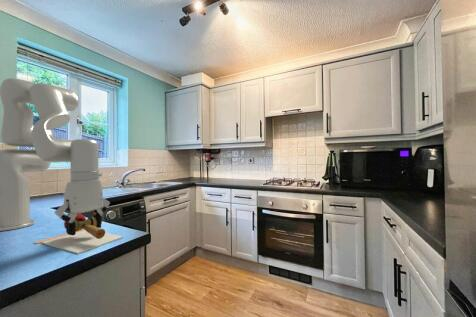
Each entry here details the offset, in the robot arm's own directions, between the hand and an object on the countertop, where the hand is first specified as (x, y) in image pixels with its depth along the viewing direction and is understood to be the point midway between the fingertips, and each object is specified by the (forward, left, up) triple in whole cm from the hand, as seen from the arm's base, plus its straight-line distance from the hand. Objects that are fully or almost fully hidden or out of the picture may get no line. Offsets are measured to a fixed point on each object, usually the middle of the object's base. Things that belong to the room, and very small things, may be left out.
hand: (85, 230), depth 70 cm
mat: (-1, 0, -3) cm, 4 cm away
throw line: (-12, 0, -3) cm, 13 cm away
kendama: (0, 0, -1) cm, 1 cm away
